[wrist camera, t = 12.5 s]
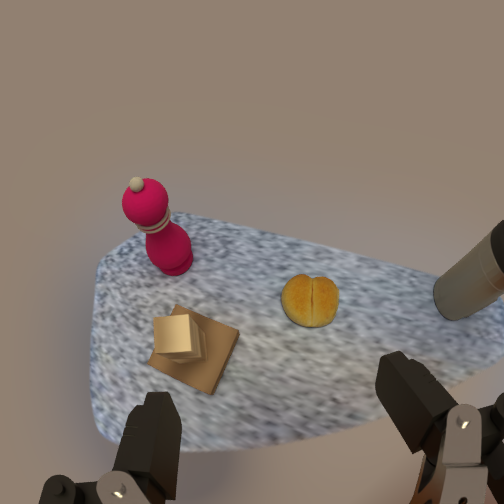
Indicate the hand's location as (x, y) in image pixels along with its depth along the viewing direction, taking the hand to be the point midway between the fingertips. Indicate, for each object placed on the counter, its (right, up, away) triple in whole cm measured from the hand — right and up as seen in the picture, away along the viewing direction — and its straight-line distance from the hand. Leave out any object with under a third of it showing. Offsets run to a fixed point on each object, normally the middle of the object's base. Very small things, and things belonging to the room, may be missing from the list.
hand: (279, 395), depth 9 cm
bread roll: (+8, -3, +34) cm, 35 cm away
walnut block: (-9, -10, +30) cm, 33 cm away
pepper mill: (-14, +4, +37) cm, 40 cm away
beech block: (-9, -8, +27) cm, 30 cm away
